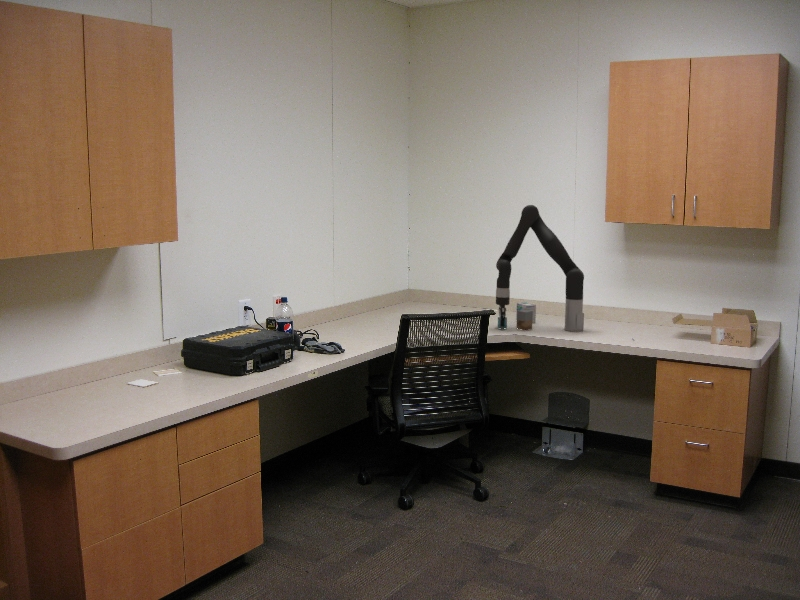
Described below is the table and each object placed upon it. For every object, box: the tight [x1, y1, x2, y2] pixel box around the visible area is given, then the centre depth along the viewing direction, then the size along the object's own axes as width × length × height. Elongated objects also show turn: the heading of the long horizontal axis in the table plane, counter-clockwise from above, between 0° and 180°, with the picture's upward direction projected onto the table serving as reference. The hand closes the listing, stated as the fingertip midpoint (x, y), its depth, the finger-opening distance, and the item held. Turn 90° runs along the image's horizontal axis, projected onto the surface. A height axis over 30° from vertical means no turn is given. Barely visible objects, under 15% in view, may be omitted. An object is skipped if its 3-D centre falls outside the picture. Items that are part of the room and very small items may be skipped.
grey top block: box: [516, 310, 533, 321], centre depth 441 cm, size 6×6×5 cm
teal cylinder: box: [497, 316, 508, 330], centre depth 443 cm, size 5×5×6 cm
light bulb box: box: [515, 301, 537, 324], centre depth 462 cm, size 11×7×11 cm, turn 25°
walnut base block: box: [516, 320, 533, 331], centre depth 442 cm, size 6×6×5 cm
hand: (501, 325), depth 444 cm, fingers open, 8 cm apart
